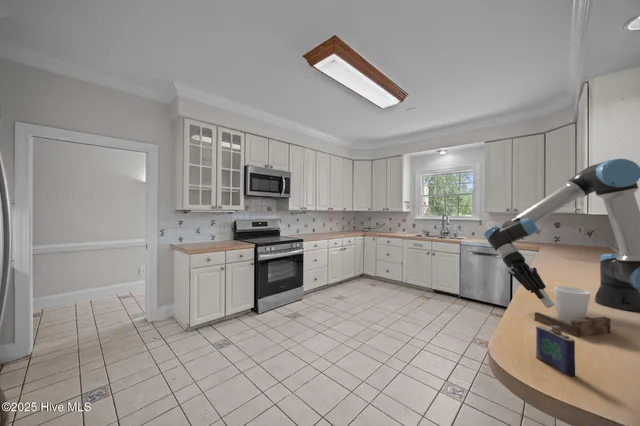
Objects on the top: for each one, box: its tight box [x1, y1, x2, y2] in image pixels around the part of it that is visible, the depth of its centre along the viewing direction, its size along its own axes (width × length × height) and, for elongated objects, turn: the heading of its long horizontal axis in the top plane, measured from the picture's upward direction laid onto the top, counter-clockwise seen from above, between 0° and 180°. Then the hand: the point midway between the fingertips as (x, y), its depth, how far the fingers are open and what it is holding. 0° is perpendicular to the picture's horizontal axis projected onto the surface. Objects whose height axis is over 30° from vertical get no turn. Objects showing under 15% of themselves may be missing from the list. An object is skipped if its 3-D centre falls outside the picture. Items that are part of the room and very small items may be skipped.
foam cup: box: [553, 285, 591, 324], centre depth 93 cm, size 10×9×13 cm
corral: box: [534, 311, 611, 338], centre depth 92 cm, size 15×14×5 cm
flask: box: [535, 325, 576, 378], centre depth 67 cm, size 9×3×11 cm, turn 8°
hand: (550, 306), depth 98 cm, fingers closed
